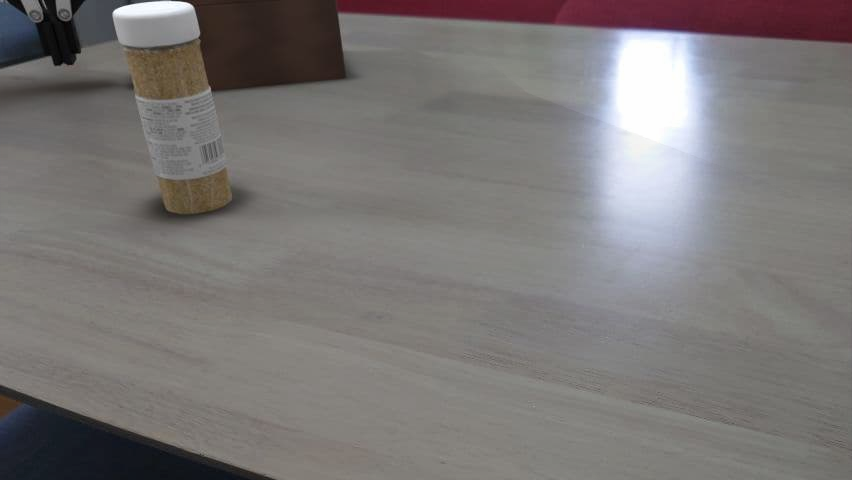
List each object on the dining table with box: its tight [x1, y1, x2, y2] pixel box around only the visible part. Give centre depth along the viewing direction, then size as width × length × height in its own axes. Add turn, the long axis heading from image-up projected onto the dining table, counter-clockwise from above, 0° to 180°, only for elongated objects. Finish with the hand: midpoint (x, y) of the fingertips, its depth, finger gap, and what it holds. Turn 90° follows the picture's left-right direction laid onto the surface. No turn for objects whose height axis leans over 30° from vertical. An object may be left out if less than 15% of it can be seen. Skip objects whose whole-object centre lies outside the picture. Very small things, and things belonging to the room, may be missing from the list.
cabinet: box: [171, 0, 347, 92], centre depth 83 cm, size 15×13×10 cm
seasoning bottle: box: [112, 0, 233, 215], centre depth 52 cm, size 5×5×14 cm
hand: (65, 62), depth 79 cm, fingers closed
